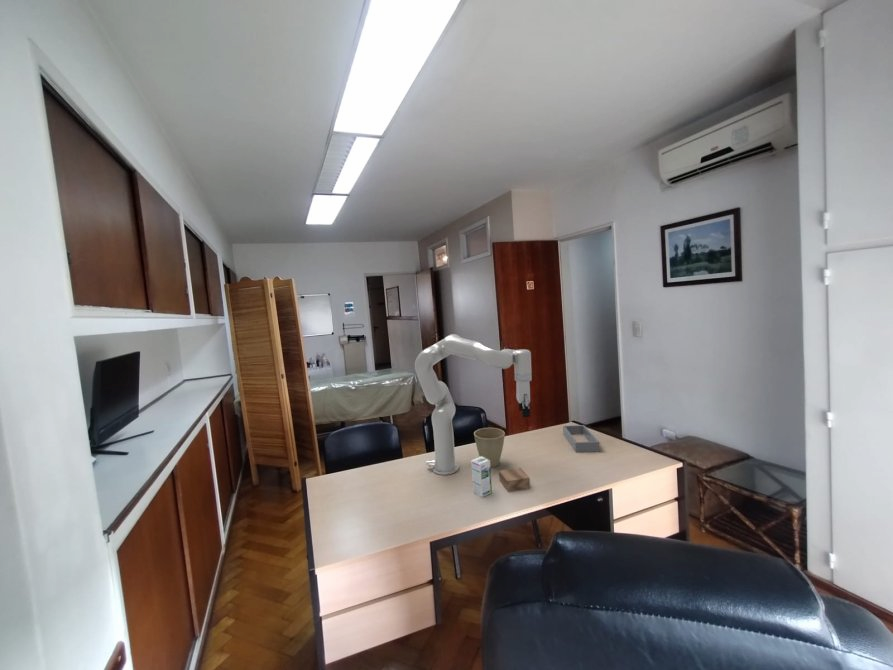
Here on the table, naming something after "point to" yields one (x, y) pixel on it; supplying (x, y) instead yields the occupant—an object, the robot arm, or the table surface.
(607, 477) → the table surface
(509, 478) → the walnut block
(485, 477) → the syrup box
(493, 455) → the plant pot
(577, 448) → the frame
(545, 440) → the table surface
